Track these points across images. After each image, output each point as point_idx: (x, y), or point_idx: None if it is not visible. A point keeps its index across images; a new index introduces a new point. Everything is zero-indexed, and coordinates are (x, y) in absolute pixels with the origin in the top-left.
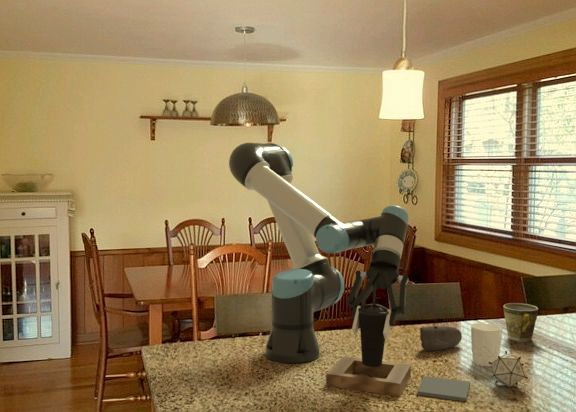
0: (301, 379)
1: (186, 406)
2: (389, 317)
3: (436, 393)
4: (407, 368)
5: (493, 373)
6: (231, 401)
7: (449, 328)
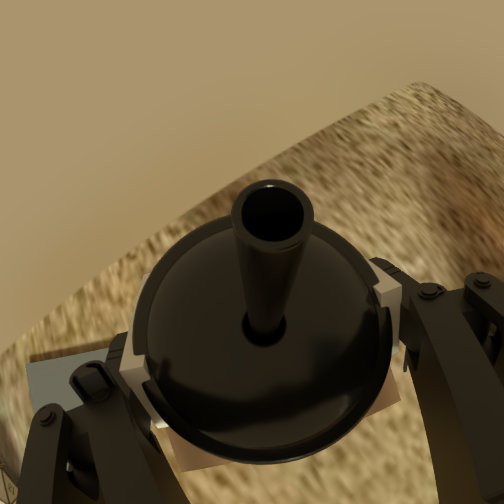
0: (402, 257)
1: (407, 88)
2: (130, 331)
3: (75, 357)
4: (172, 436)
5: (3, 474)
6: (390, 116)
7: None
